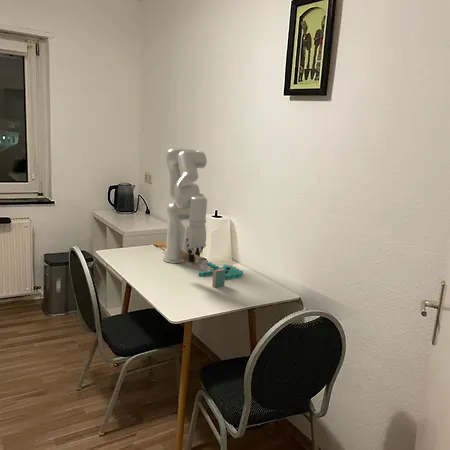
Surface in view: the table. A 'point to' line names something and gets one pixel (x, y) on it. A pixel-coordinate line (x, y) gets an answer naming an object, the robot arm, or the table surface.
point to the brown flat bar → (198, 260)
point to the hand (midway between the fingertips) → (193, 261)
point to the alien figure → (230, 272)
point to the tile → (218, 278)
